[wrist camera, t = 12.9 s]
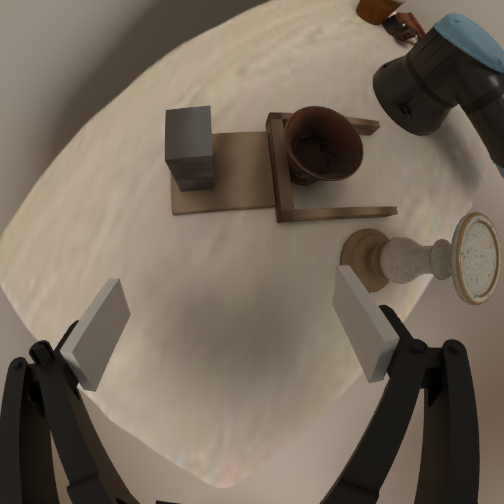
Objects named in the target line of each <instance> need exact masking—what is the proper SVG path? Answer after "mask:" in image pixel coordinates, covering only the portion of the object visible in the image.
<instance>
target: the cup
mask: <svg viewBox="0 0 504 504" xmlns="http://www.w3.org/2000/svg"><path fill="white" fill-rule="evenodd" d="M284 143H285V147H286V150H287V161H288V165H289V172H290V180H291V181H292V182H294V183H295V184H298V185H302V186H307V185H310V184H312V183H314V182H316V181H318V180H325V181H339V180H343V179H346V178H349V177H350V176H352V175H353V174H354V173H355V172H356V171H357V170H358V169H359V167H360V165H361V163H362V160H363V144H362V141H361V138H360V136H359V134H358V132H357V130H356V129H355V127H354V126H353V125H352V124H351V123H350V121H348V120H347V119H346V118H345V117H344V116H343V115H341V114H340V113H338V112H336V111H334V110H332V109H329V108H325V107H320V106H309V107H305V108H302V109H300V110H298V111H296V112H295V113H294V114H292V115H291V116H290V118H289V119H288V121H287V122H286V125H285V128H284Z"/></svg>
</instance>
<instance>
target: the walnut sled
mask: <svg viewBox="0 0 504 504" xmlns="http://www.w3.org/2000/svg"><path fill="white" fill-rule="evenodd" d="M292 114H294V113H269V116H268V118H267V121H266V129H267V132H239V133H220V134H212V132H211V109H210V106H201V107H190V108H180V109H172V110H166V120H165V161H166V163H167V165H168V167H169V169H170V171H171V200H172V214H173V215H178V214H188V213H199V212H211V211H223V210H236V209H251V208H266V207H274V206H275V207H276V217H277V223H278V222H294V221H310V220H328V219H348V218H370V217H387V216H391V215H395V214H398V213H397V207H350V208H322V209H300V210H294V205H293V196H292V188H291V180H290V172H289V165H288V161H287V150H286V147H285V143H284V128H285V125H286V122H287V121H288V119H289V118H290V116H291V115H292ZM345 118H346V119H347V120H348V121H350V123H351V124H352V125H353V126H354V127H355V129H356V130H357V132H358V134H367V135H371V134H372V133H374V132H375V131H376V130H377V129H379V128H380V125H379V121H373V120H366V119H359V118H350V117H345Z"/></svg>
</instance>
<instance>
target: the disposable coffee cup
mask: <svg viewBox="0 0 504 504" xmlns="http://www.w3.org/2000/svg"><path fill="white" fill-rule="evenodd" d="M407 1H408V0H360V2H359V4H358V7H357V9H356V12H357V14H358V15H359V16H360V17H361V18H362V19H363V20H365V21H367V22H369V23H371V24H374V25H380V24H381V23H382V22H383V21H384V20H385V19H386V18H387V17H388V16H389V15H390V14H391V13H393V12H394V11H395V10H396V9H397V8H398V7H399V6H400V5H401V4H403V3H406V2H407Z"/></svg>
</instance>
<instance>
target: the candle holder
mask: <svg viewBox="0 0 504 504" xmlns="http://www.w3.org/2000/svg"><path fill="white" fill-rule="evenodd" d="M344 265H349V266H350V267H351V269H352V270H353V272H354V273H355V274H356V276H357V277H358V278H359V280H360V281H361V282H362V284H363V285H364V287H365V288H366V289H367V291H368V292H369V293H371V292H376V291H378V290H380V289H382V288H383V287H384V286H386V284H387V283H388V282H389V281H391V282H393V283H396V284H405V283H408V282H410V281H412V280H414V279H416V278H417V277H418V276H420V275H422V274H433V275H434V276H435V277H436V278H437V279H439V280H445V279H447V278H449V277H450V276H451V275H452V279H453V283H454V286H455V289H456V291H457V293H458V295H459V297H460V298H461V299H462V300H463V301H464V302H465V303H467V304H469V305H480V304H482V303H484V302H486V301H487V300H488V299H489V298H490V297H491V295H492V294H493V293H494V290H495V289H496V286H497V284H498V280H499V277H500V271H501V247H500V241H499V237H498V234H497V232H496V230H495V227H494V225H493V224H492V222H491V221H490V220H489V219H488V218H487V217H486V216H485V215H483V214H481V213H477V212H473V213H469V214H467V215H465V216H464V217H463V218H462V219H461V220H460V221H459V223H458V224H457V226H456V229H455V231H454V235H453V238H452V244H451V243H450V242H449V241H447V240H445V239H440V240H438V241H436V242H435V243H434V245H433V246H422V245H419V244H418V243H417V242H415V241H413V240H412V239H409V238H407V237H395V238H393V239H391V240H389V239H388V238H387V237H386V236H385V235H384V234H383V233H381V232H380V231H378V230H374V229H363V230H360V231H358V232H356V233H354V234H353V235H352V236H351V237H350V238H349V239H348V240H347V241H346V243H345V245H344V247H343V250H342V255H341V266H344Z"/></svg>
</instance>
